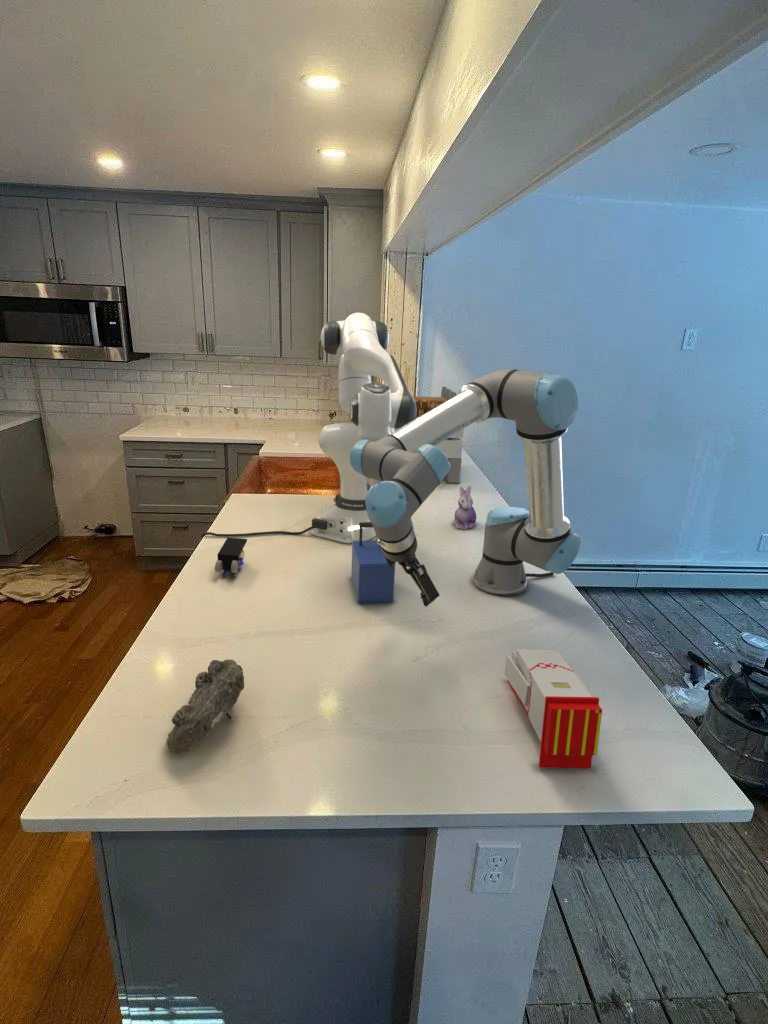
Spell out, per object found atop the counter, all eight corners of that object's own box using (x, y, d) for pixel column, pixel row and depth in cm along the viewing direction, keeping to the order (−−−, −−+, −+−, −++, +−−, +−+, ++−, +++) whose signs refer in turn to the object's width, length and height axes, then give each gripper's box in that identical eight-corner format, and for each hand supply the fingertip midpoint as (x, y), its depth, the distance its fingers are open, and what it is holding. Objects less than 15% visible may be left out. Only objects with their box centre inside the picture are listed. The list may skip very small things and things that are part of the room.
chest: (351, 578, 166) (352, 545, 162) (383, 577, 167) (385, 544, 164) (358, 603, 152) (359, 567, 148) (393, 601, 154) (395, 566, 150)
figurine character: (238, 584, 162) (249, 557, 175) (236, 562, 158) (247, 536, 172) (215, 584, 161) (227, 556, 175) (212, 561, 158) (225, 535, 171)
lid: (351, 543, 163) (352, 518, 160) (384, 542, 165) (385, 517, 162) (359, 567, 148) (360, 540, 146) (395, 566, 150) (396, 539, 147)
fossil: (192, 660, 117) (244, 628, 112) (224, 691, 120) (276, 661, 115) (142, 746, 98) (202, 712, 93) (182, 779, 101) (242, 748, 96)
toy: (554, 631, 124) (612, 705, 95) (548, 687, 127) (603, 776, 98) (499, 630, 124) (540, 704, 94) (495, 686, 126) (533, 775, 97)
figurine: (462, 531, 204) (465, 492, 199) (446, 522, 213) (449, 483, 207) (483, 528, 208) (487, 489, 203) (467, 518, 217) (470, 481, 212)
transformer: (382, 463, 289) (386, 382, 275) (445, 464, 293) (451, 384, 279) (390, 482, 257) (394, 392, 243) (460, 483, 261) (468, 394, 247)
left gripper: (393, 456, 142) (390, 508, 146) (379, 438, 161) (377, 484, 165) (368, 456, 141) (366, 508, 145) (357, 438, 159) (356, 484, 164)
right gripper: (347, 510, 120) (367, 556, 138) (421, 591, 107) (432, 630, 125) (375, 489, 122) (391, 537, 139) (451, 567, 109) (458, 609, 127)
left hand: (372, 495), depth 155 cm, fingers open, 8 cm apart
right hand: (410, 581), depth 132 cm, fingers open, 13 cm apart
